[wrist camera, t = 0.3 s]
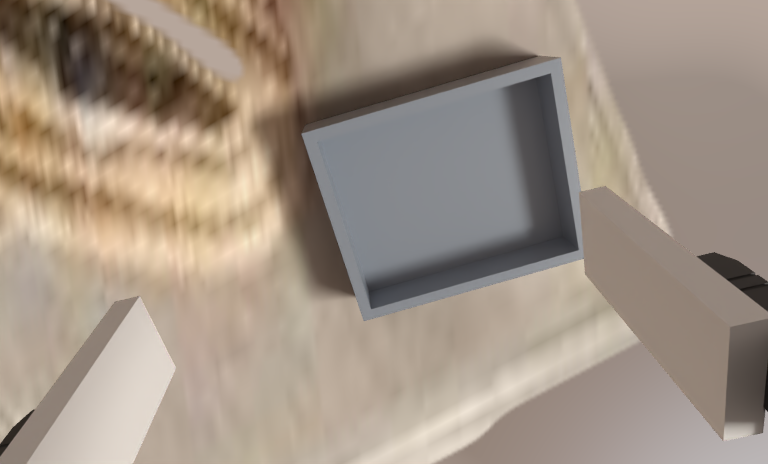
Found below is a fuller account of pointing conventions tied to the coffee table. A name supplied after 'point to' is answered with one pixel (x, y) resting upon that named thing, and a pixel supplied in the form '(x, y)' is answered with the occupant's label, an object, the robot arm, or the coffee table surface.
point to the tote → (452, 186)
